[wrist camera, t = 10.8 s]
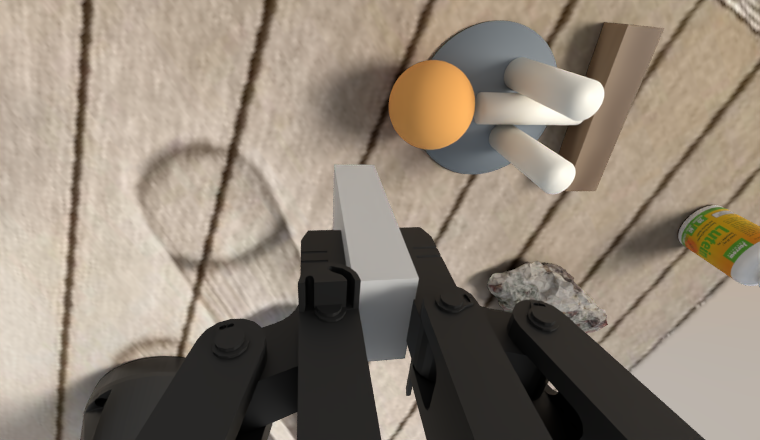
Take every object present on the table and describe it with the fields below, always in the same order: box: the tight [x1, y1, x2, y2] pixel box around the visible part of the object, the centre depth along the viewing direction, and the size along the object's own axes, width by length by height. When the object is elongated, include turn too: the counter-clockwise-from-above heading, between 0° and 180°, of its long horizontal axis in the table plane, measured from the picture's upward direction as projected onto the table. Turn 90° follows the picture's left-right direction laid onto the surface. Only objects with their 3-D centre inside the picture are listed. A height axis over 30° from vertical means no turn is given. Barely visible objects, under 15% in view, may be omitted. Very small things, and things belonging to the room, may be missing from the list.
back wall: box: [558, 22, 664, 191], centre depth 31 cm, size 3×13×2 cm, turn 175°
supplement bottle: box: [678, 205, 760, 287], centre depth 38 cm, size 5×5×10 cm
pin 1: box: [504, 57, 604, 121], centre depth 26 cm, size 2×2×8 cm
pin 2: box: [489, 125, 576, 194], centre depth 28 cm, size 2×2×8 cm
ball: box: [389, 60, 475, 150], centre depth 26 cm, size 6×6×6 cm
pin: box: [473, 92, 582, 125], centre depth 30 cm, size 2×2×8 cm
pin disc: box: [425, 21, 557, 174], centre depth 30 cm, size 12×12×1 cm
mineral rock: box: [487, 261, 608, 333], centre depth 41 cm, size 15×8×4 cm, turn 45°
